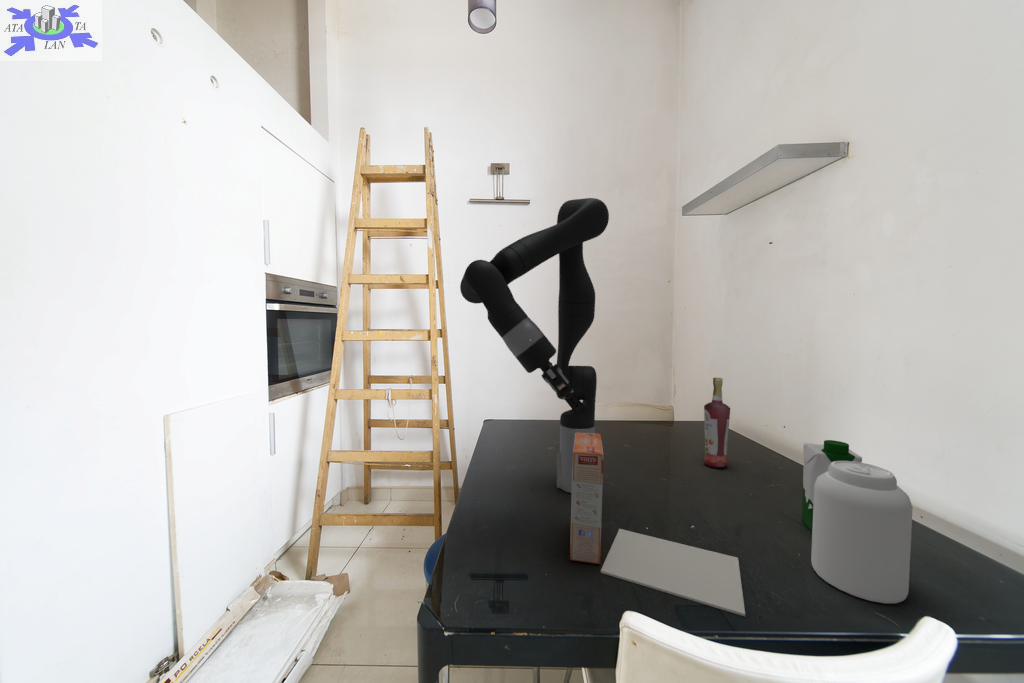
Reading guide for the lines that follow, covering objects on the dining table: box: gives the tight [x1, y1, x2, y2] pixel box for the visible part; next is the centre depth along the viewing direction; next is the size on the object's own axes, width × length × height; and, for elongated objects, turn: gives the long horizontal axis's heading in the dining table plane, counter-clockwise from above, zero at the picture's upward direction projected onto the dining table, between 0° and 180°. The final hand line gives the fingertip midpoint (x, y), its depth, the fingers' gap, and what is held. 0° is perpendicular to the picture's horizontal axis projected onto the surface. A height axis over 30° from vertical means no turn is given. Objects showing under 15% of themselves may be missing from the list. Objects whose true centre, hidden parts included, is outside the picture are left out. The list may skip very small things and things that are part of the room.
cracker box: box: [569, 432, 604, 565], centre depth 77 cm, size 14×6×21 cm, turn 168°
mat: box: [600, 528, 746, 617], centre depth 70 cm, size 22×16×1 cm
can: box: [810, 461, 913, 604], centre depth 66 cm, size 12×12×20 cm
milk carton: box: [801, 439, 863, 533], centre depth 82 cm, size 9×9×20 cm
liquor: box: [703, 377, 731, 469], centre depth 121 cm, size 7×7×28 cm
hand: (578, 406), depth 78 cm, fingers open, 8 cm apart
